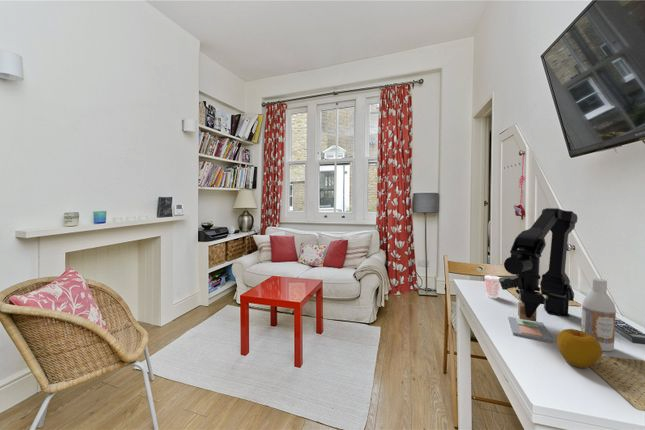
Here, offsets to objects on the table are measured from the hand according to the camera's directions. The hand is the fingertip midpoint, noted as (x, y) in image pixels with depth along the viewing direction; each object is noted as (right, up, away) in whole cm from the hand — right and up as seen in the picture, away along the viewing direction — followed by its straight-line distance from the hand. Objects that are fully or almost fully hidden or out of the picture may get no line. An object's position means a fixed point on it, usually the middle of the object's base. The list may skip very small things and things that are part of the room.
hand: (527, 315), depth 94 cm
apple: (-4, -5, -22) cm, 23 cm away
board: (-2, -4, -3) cm, 5 cm away
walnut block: (0, -1, 0) cm, 1 cm away
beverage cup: (+6, -3, +29) cm, 30 cm away
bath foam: (+11, -5, -13) cm, 18 cm away
